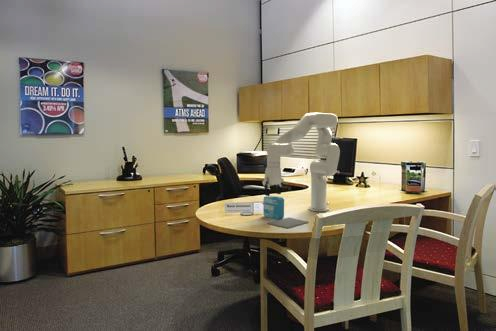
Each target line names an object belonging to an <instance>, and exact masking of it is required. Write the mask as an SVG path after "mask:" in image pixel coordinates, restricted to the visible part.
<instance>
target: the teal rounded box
mask: <svg viewBox="0 0 496 331" xmlns="http://www.w3.org/2000/svg"><path fill="white" fill-rule="evenodd" d="M262 209H263V216H264V217H265V218H270V219H275V220H281V219H284V217H285V199H284V197H281V196H275V195H270V196H266V195H265V196H263V208H262Z"/></svg>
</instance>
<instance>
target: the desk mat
mask: <svg viewBox="0 0 496 331" xmlns="http://www.w3.org/2000/svg"><path fill="white" fill-rule="evenodd" d="M304 224H305V225H306V224H309V220H308V221H307V220H304V219H298V218H293V217H285V218H281V219H276V220H274V221H269V222H267V225H271V226H275V227H280V228H284V229H291V228H295V227H298V226H302V225H304Z"/></svg>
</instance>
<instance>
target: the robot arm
mask: <svg viewBox="0 0 496 331" xmlns="http://www.w3.org/2000/svg"><path fill="white" fill-rule="evenodd" d="M338 123H339V119H338V116H337V115H336V114H334V113H323V112H308V113H305V114H304V115H303V116H302V117H301V118H300V119H299V121H297V123H296V124H295V125H294V126H293V128H291V129H290V130H288V131H286V132H284V133H283V134H282V135H280V136H279V137H278V138H277V139H276V141H275V142H274V143H268V144H267V152H266V153H267V154H266V158H267V159H266V160H267V161H266V167H265V171H264V179H263V180H262V186H263V188H264V196H265V197H266V196H271V194H270V192H271V189H270V187H271V186H275V194H276V195H281V194H282V188H283V184H284V181H285V180H284V178H282V169H281V157H291V156H292V155H293V154H294V152H295V147H294V145H292V143H294V142H297V141H300V140H302V139H304V138H305V137H306V136H307V135H308V133H309V131H310V130H311V129H312V128H316V130H317V133H318V134H317V135H318V137H317V141H316V142H317V143H316V147H315V155H316V157H318V158H321V159H314V160H313V161H311V162H310V164H309V170H310V171H309V172H310V180H311V181H310V182H311V184H310V187H311V188H310V206H308V210H309V211H312V212H326V211H329V207H328V206H329V205H330V202H329V201H327V188H328V187H327V185H328V184H327V178H326V177H333V176H334V175H335V174H336V173H337V169H338V165H339V161H340V155H341V150H340V147H339V145H338V144H336V143H335V142H334V143H333V142H332V139H333V134H332V133H333V132H332V131H331V129H332V128H335V127H336V126H337V125H338ZM325 159H326V160H325Z"/></svg>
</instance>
